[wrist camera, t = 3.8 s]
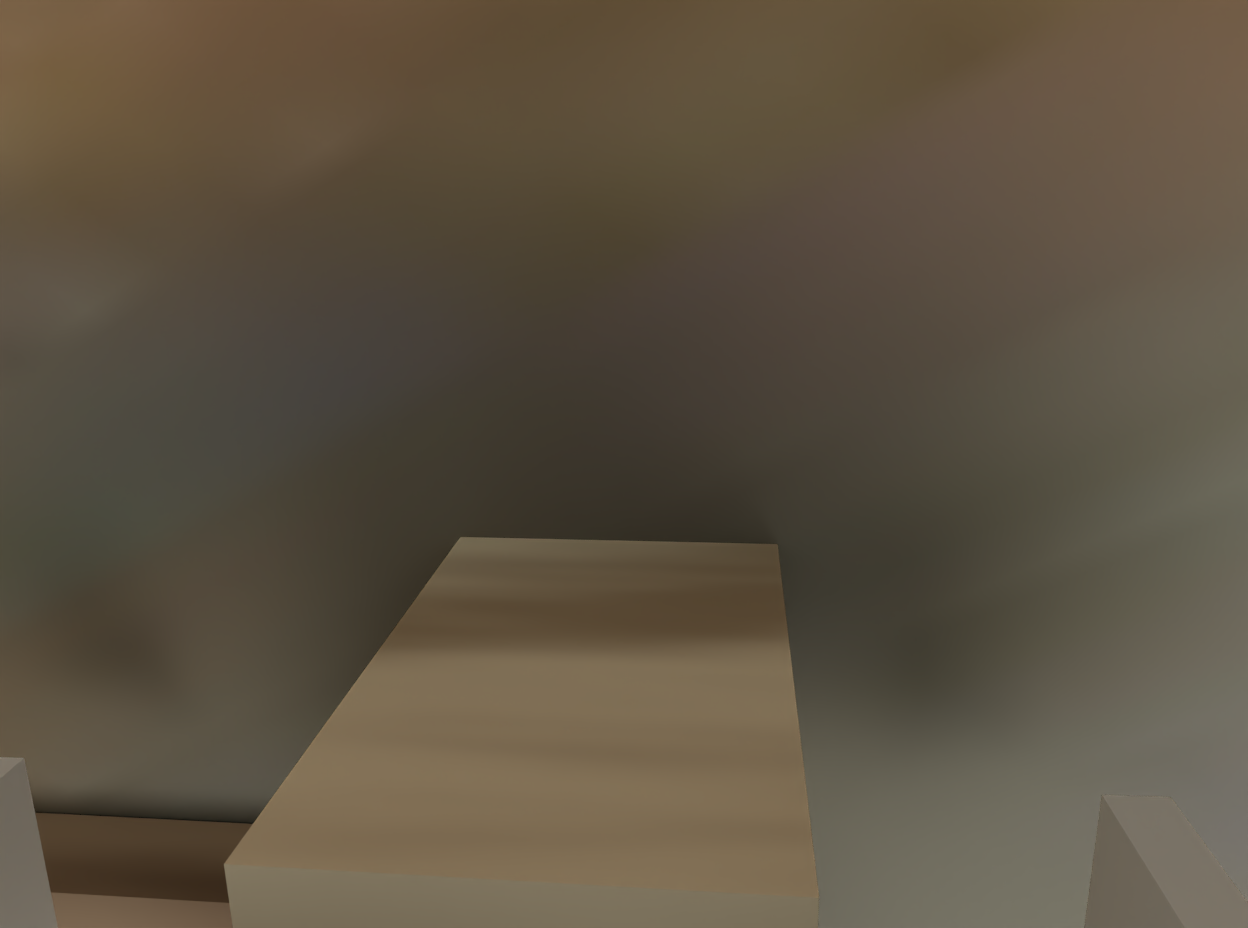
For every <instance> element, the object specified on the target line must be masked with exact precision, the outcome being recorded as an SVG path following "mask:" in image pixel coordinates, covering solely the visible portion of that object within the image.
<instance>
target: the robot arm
mask: <svg viewBox="0 0 1248 928" xmlns="http://www.w3.org/2000/svg"><path fill="white" fill-rule="evenodd" d="M0 928H58V926H57V921H56V916H55V911H54V906H53V901H52V896H51V891H50V886H49V881H48V876H47V871H46V866H45V861H44V856H43V851H42V845H41V840H40V835H39V830H38V825H37V820H36V815H35V810H34V805H33V800H32V795H31V790H30V785H29V780H28V775H27V770H26V765H25V760H24V758H10V757H0ZM1084 928H1248V902H1247V901H1246V900H1245V898H1244V897H1243V896H1242V894H1241V893H1240V891H1239V890H1238V889H1237V887H1236V886H1235V885H1234V883H1233V882H1232V880H1231V879H1230V878H1229V876H1228V875H1227V874H1226V872H1225V871H1224V869H1223V868H1222V867H1221V865H1220V864H1219V863H1218V861H1217V860H1216V859H1215V857H1214V856H1213V854H1212V853H1211V852H1210V850H1209V849H1208V848H1207V846H1206V845H1205V843H1204V842H1203V841H1202V839H1201V838H1200V837H1199V835H1198V834H1197V832H1196V831H1195V830H1194V828H1193V827H1192V826H1191V824H1190V823H1189V822H1188V820H1187V819H1186V817H1185V816H1184V815H1183V813H1182V812H1181V811H1180V809H1179V808H1178V806H1177V805H1176V804H1175V802H1174V801H1173V800H1172V798H1171V797H1152V796H1122V795H1102V798H1101V805H1100V813H1099V820H1098V828H1097V836H1096V843H1095V851H1094V858H1093V866H1092V874H1091V881H1090V889H1089V896H1088V904H1087V911H1086V919H1085V927H1084Z"/></svg>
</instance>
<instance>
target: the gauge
mask: <svg viewBox="0 0 1248 928" xmlns="http://www.w3.org/2000/svg"><path fill="white" fill-rule="evenodd" d="M224 869H225V876H226V883H227V890H228V897H229V904H230V911H231V918H232V925H233V928H818V911H819V893H818V884H817V875H816V867H815V858H814V850H813V841H812V833H811V824H810V816H809V807H808V799H807V790H806V782H805V773H804V765H803V756H802V748H801V739H800V731H799V722H798V714H797V705H796V697H795V688H794V680H793V671H792V663H791V654H790V646H789V637H788V629H787V620H786V612H785V603H784V595H783V586H782V578H781V569H780V561H779V552H778V544H751V543H706V542H661V541H616V540H571V539H527V538H482V537H460V538H459V540H458V541H457V542H456V544H455V545H454V546H453V548H452V549H451V551H450V552H449V553H448V555H447V556H446V558H445V559H444V560H443V562H442V563H441V564H440V566H439V567H438V569H437V570H436V571H435V573H434V574H433V575H432V577H431V578H430V580H429V581H428V582H427V584H426V585H425V587H424V588H423V589H422V591H421V592H420V593H419V595H418V596H417V598H416V599H415V600H414V602H413V603H412V605H411V606H410V607H409V609H408V610H407V611H406V613H405V614H404V616H403V617H402V618H401V620H400V621H399V623H398V624H397V625H396V627H395V628H394V629H393V631H392V632H391V634H390V635H389V636H388V638H387V639H386V640H385V642H384V643H383V645H382V646H381V647H380V649H379V650H378V652H377V653H376V654H375V656H374V657H373V658H372V660H371V661H370V663H369V664H368V665H367V667H366V668H365V670H364V671H363V672H362V674H361V675H360V676H359V678H358V679H357V681H356V682H355V683H354V685H353V686H352V688H351V689H350V690H349V692H348V693H347V694H346V696H345V697H344V699H343V700H342V701H341V703H340V704H339V705H338V707H337V708H336V710H335V711H334V712H333V714H332V715H331V717H330V718H329V719H328V721H327V722H326V723H325V725H324V726H323V728H322V729H321V730H320V732H319V733H318V735H317V736H316V737H315V739H314V740H313V741H312V743H311V744H310V746H309V747H308V748H307V750H306V751H305V753H304V754H303V755H302V757H301V758H300V759H299V761H298V762H297V764H296V765H295V766H294V768H293V769H292V770H291V772H290V773H289V775H288V776H287V777H286V779H285V780H284V782H283V783H282V784H281V786H280V787H279V788H278V790H277V791H276V793H275V794H274V795H273V797H272V798H271V800H270V801H269V802H268V804H267V805H266V806H265V808H264V809H263V811H262V812H261V813H260V815H259V816H258V818H257V819H256V820H255V822H254V823H253V824H252V826H251V827H250V829H249V830H248V831H247V833H246V834H245V835H244V837H243V838H242V840H241V841H240V842H239V844H238V845H237V847H236V848H235V849H234V851H233V852H232V853H231V855H230V856H229V858H228V859H227V860H226V862H225V863H224Z"/></svg>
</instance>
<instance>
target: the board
mask: <svg viewBox="0 0 1248 928" xmlns="http://www.w3.org/2000/svg"><path fill="white" fill-rule="evenodd" d="M35 815H36V820H37V825H38V830H39V835H40V840H41V845H42V851H43V856H44V861H45V866H46V871H47V876H48V881H49V886H50V891H51V896H52V901H53V906H54V911H55V916H56V921H57V926H58V928H233V925H232V918H231V911H230V904H229V897H228V890H227V883H226V876H225V869H224V863H225V862H226V860H227V859H228V858H229V856H230V855H231V853H232V852H233V851H234V849H235V848H236V847H237V845H238V844H239V842H240V841H241V840H242V838H243V837H244V835H245V834H246V833H247V831H248V830H249V829H250V827H251V826H252V824H246V823H226V822H207V821H188V820H168V819H149V818H129V817H110V816H91V815H71V814H52V813H35Z"/></svg>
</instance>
